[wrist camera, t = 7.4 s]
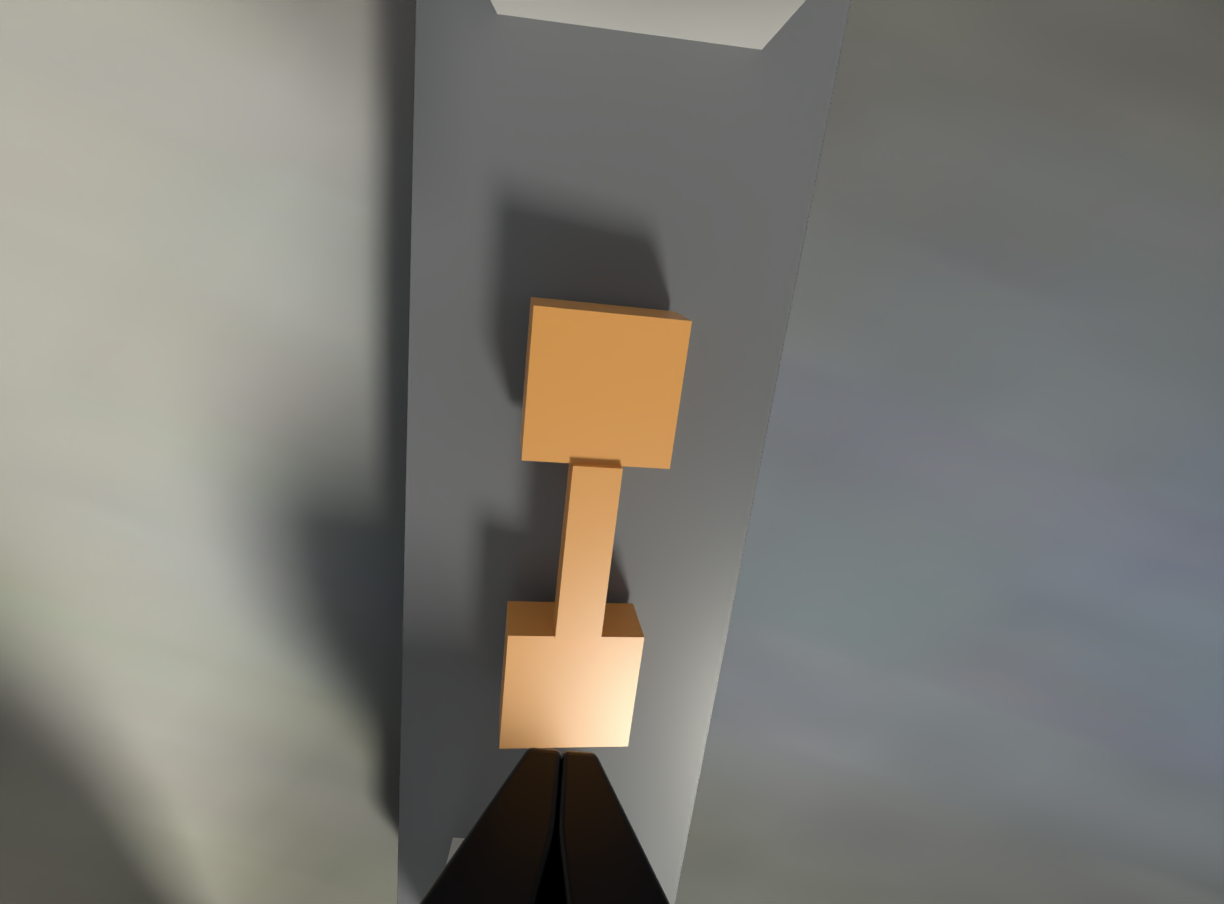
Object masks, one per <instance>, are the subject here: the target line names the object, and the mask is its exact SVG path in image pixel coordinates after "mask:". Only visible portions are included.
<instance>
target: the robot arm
mask: <svg viewBox="0 0 1224 904" xmlns="http://www.w3.org/2000/svg"><path fill="white" fill-rule="evenodd" d="M419 904H670V903H669V901H668V899H667V897H666V895H665V893H664V891H663V889H662V887H661V885H660V883H659V881H658V879H657V877H656V875H655V873H654V870H653V868H652V866H651V864H650V862H649V860H648V858H647V856H646V854H645V852H644V850H643V848H642V846H641V844H640V842H639V840H638V838H637V836H636V834H635V832H634V830H633V828H632V826H631V824H630V822H629V819H628V817H627V815H626V813H625V811H624V809H623V807H622V805H621V803H620V801H619V799H618V797H617V795H616V793H615V791H614V789H613V787H612V785H611V783H610V781H609V779H608V777H607V775H606V773H605V771H604V769H603V766H602V764H601V762H600V760H599V759H598V757H597V756H596V755H595V754H594V753H591V752H579V751H565V752H564V753H563V755H562V759H561V753H560V751H558V750H556V749H544V748H530V749H528V750H527V751H526V752H525V753H524V754H523V756H522V757H521V759H520V760H519V762H518V763H517V764H516V766H515V767H514V769H513V770H512V772H511V773H510V774H509V776H508V777H507V779H506V780H505V782H504V783H503V784H502V786H501V787H500V789H499V790H498V792H497V793H496V794H495V796H494V797H493V799H492V800H491V802H490V803H489V804H488V806H487V807H486V809H485V810H484V812H483V813H482V814H481V816H480V817H479V819H478V820H477V822H476V823H475V824H474V826H473V827H472V829H471V830H470V832H469V833H468V834H467V836H466V837H465V839H464V840H463V842H462V843H461V844H460V846H459V847H458V849H457V850H456V852H455V853H454V854H453V856H452V857H451V859H450V860H449V862H448V863H447V864H446V866H445V867H444V869H443V870H442V872H441V873H440V874H439V876H438V877H437V879H436V880H435V882H434V883H433V884H432V886H431V887H430V889H429V890H428V892H427V893H426V894H425V896H424V897H423V899H422V900H421V902H420V903H419Z"/></svg>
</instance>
